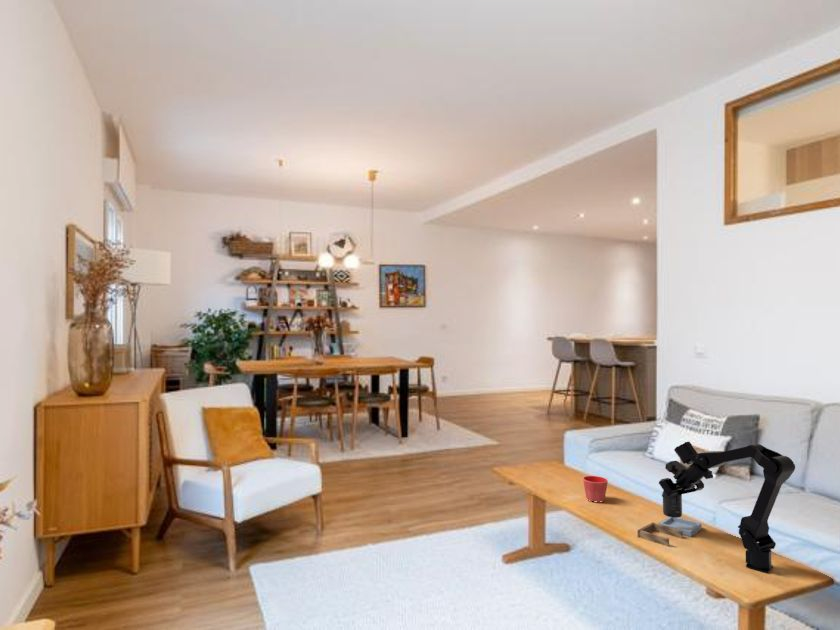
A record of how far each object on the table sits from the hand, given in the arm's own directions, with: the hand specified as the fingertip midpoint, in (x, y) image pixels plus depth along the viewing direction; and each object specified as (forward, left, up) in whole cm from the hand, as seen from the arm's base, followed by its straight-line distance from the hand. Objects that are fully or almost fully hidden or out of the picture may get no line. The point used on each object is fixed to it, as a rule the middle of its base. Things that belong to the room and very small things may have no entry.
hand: (669, 495), depth 211 cm
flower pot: (+37, -12, -14) cm, 42 cm away
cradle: (-1, +10, -13) cm, 17 cm away
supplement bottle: (-1, 0, -7) cm, 7 cm away
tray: (-3, -4, -13) cm, 14 cm away
